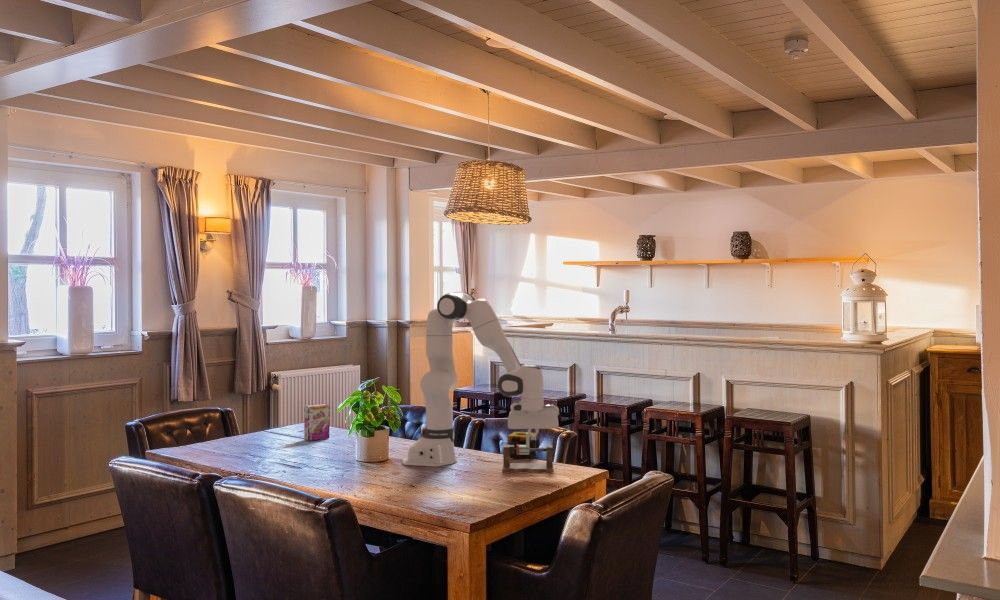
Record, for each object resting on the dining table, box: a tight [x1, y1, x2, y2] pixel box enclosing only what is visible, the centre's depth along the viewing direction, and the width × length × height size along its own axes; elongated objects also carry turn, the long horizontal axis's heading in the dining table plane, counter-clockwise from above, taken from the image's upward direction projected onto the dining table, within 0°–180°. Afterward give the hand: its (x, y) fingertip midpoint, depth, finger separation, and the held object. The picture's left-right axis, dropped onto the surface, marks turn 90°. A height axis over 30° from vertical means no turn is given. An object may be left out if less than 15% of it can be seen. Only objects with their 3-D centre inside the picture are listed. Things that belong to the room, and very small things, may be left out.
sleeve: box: [519, 431, 529, 455], centre depth 317 cm, size 4×3×8 cm
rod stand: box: [502, 444, 555, 474], centre depth 317 cm, size 20×10×10 cm, turn 87°
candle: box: [507, 431, 537, 461], centre depth 340 cm, size 10×10×10 cm
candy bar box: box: [303, 403, 330, 442], centre depth 381 cm, size 11×5×16 cm, turn 130°
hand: (533, 439), depth 317 cm, fingers closed
